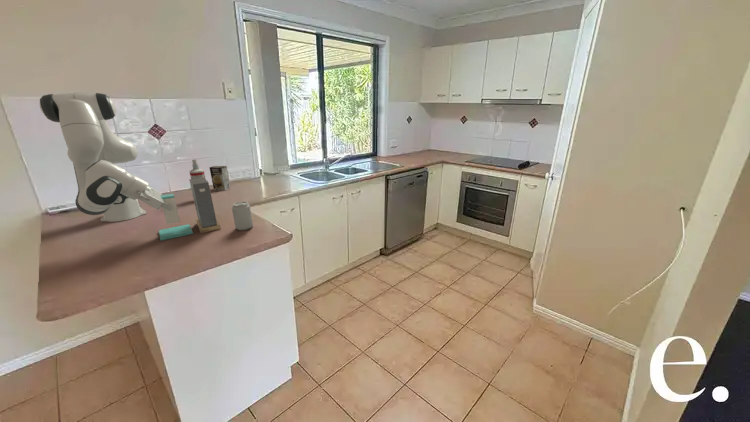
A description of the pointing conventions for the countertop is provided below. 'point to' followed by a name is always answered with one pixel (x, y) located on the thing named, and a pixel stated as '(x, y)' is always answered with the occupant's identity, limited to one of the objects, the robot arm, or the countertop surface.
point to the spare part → (173, 214)
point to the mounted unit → (204, 205)
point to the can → (242, 215)
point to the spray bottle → (196, 171)
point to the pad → (175, 232)
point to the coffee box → (220, 177)
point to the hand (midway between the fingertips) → (171, 207)
